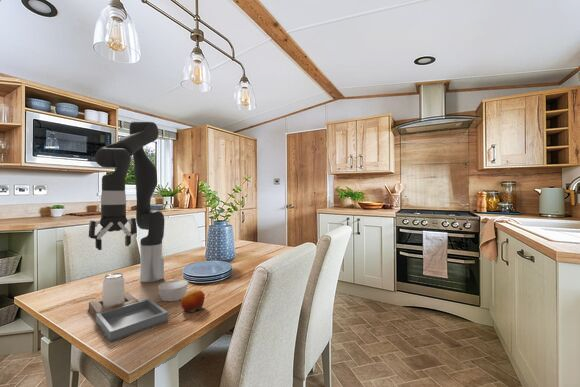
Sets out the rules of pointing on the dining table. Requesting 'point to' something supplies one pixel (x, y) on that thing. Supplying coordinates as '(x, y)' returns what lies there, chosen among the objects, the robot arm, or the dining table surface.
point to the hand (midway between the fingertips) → (113, 247)
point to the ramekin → (172, 290)
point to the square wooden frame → (98, 307)
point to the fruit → (193, 300)
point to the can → (113, 290)
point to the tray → (130, 319)
